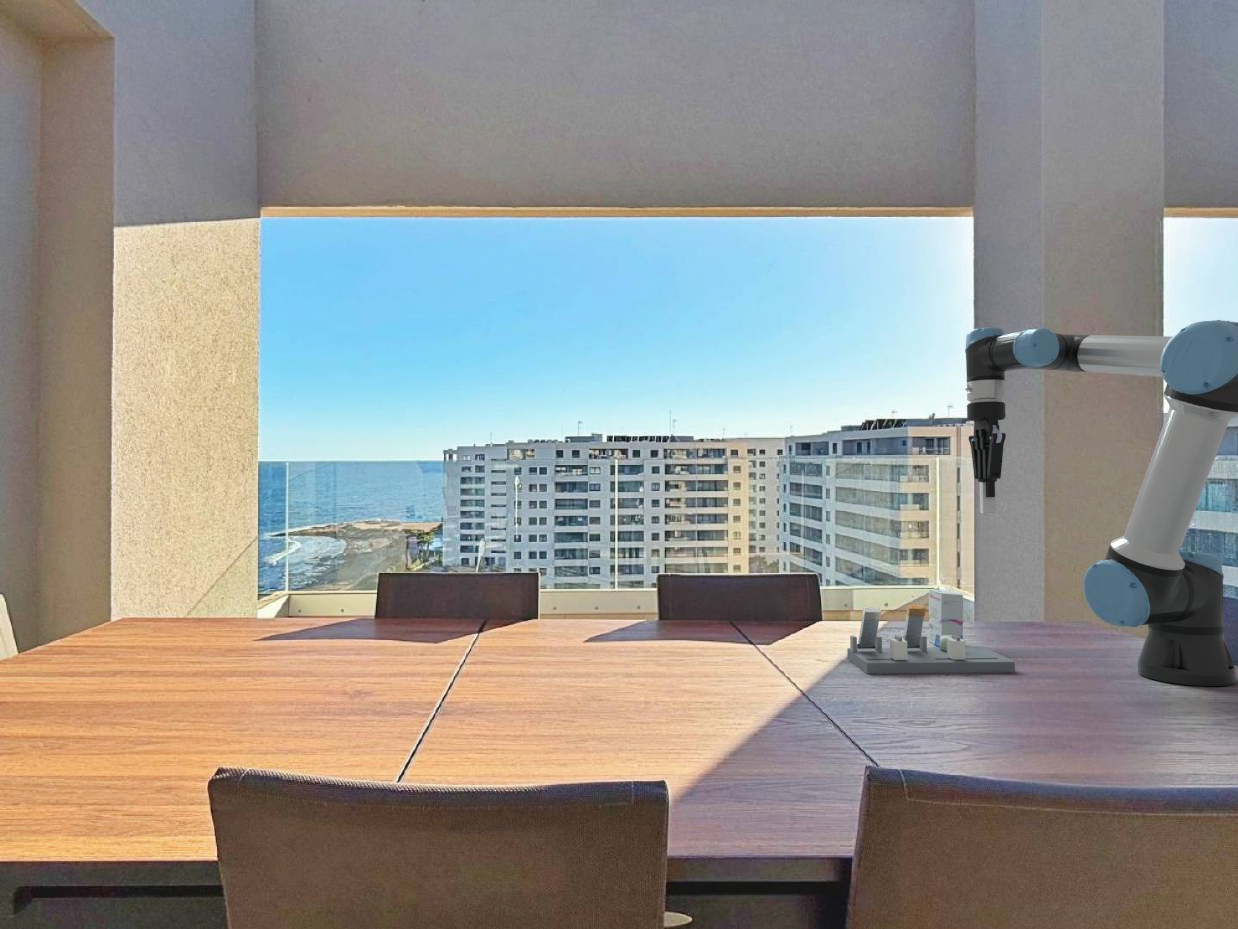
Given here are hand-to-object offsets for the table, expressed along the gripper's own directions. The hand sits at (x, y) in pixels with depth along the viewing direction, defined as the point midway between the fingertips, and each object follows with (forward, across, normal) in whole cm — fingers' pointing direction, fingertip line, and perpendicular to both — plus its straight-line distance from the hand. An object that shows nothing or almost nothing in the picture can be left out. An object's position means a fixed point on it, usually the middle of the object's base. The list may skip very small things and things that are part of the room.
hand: (988, 512), depth 185 cm
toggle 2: (+26, +8, -20) cm, 34 cm away
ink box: (+29, -8, -7) cm, 31 cm away
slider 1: (+27, +16, -25) cm, 40 cm away
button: (+27, +8, -12) cm, 31 cm away
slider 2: (+27, +16, -14) cm, 35 cm away
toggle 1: (+26, +8, -29) cm, 40 cm away
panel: (+29, +12, -18) cm, 36 cm away
